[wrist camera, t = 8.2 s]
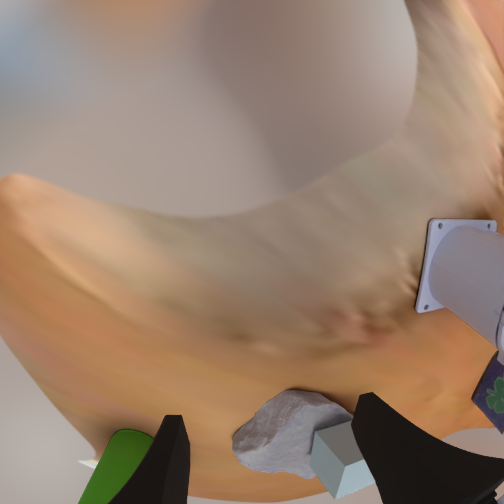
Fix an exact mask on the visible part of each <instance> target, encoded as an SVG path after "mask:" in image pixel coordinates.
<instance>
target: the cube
mask: <svg viewBox="0 0 504 504" xmlns="http://www.w3.org/2000/svg"><path fill="white" fill-rule="evenodd" d="M351 422H352V420H351V421H348V422H345V423H342V424H339V425H336V426H333V427H329V428H326V429H323V430H319V431H315V435H314V441H313V447H312V453H311V459H310V464H309V466H310V467H311V469H312V470H313V472H314V473H315V474H316V476H317V477H318V478H319V480H320V481H321V482H322V484H323V485H324V486H325V488H326V489H327V490H328V491H329V493H330V494H331V495H332V496H333V498H334V499H338V498H340V497H343V496H346V495H348V494H350V493H353V492H355V491H357V490H360V489H362V488H364V487H366V486H369V485H371V484H373V483H375V480H374V478H373V476H372V474H371V472H370V470H369V468H368V466H367V464H366V462H365V460H364V458H363V456H362V454H361V452H360V450H359V448H358V446H357V443H356V440H355V437H354V434H353V431H352V428H351Z"/></svg>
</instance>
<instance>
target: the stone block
mask: <svg viewBox="0 0 504 504" xmlns="http://www.w3.org/2000/svg"><path fill="white" fill-rule="evenodd" d="M352 419H353V415H352V414H350V413H348V412H347V411H346V410H345V409H344V408H343V407H341V406H340V405H338V404H337V403H335V402H332V401H329V400H328V399H327V398H325V397H323V396H322V395H321V394H320V393H318V392H307V391H298V390H284V391H283V392H281V393H279V394H278V395H277V396H275V397H274V398H272V399H271V400H269V401H267V402H266V403H265V404H264V405H263V406H262V407H261V408H260V410H259V411H258V412H257V413H255V416H254V417H253V419H251V420H250V421H249V422H247V423H246V424H244V425H243V426H242V427H241V428H240V429H239V430H238V431H237V432H236V433H235V434H234V436H233V445H232V449H233V452H234V453H235V455H236V456H235V457H236V458H237V459H238V460H239V462H240V463H241V464H242V465H244V466H246V467H248V468H250V469H252V470H255V471H261V472H269V473H276V472H289V473H291V474H297V475H299V476H300V477H302V478H304V479H310V478H313V477H314V476H316V474H315V473H314V472H313V470H312V469H311V467H310V466H309V464H310V459H311V453H312V447H313V441H314V435H315V431H319V430H323V429H326V428H329V427H333V426H336V425H339V424H342V423H345V422H348V421H351V420H352Z"/></svg>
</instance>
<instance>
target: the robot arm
mask: <svg viewBox="0 0 504 504" xmlns="http://www.w3.org/2000/svg"><path fill="white" fill-rule="evenodd" d="M439 223H440V225H439ZM438 225H439V227H438ZM496 229H497V223H496V221H494V220H472V219H432V220H431V221H430V223H429V229H428V238H427V246H426V253H425V259H424V266H423V272H422V277H421V283H420V288H419V293H418V298H417V302H416V307H415V309H416V311H417V312H418V313H423V312H428V311H433V310H437V309H442V308H447V309H448V310H449V311H451V312H452V313H453V314H455V315H456V316H457V317H458V318H460V319H461V320H462V321H464V322H465V323H466V324H468V325H469V326H470V327H471V328H473V329H474V330H475V331H476V332H478V333H479V334H480V335H481V336H483V337H484V338H485V339H486V340H488V341H489V342H490V343H491V344H492V345H494V346H495V347H496V348H497V349H499V354H498V357H497V360H498V361H499V362H500V363H501V364H502V365H504V235H503V234H500V233H497V232H496ZM425 305H426V306H425ZM351 428H352V431H353V434H354V437H355V440H356V443H357V446H358V448H359V450H360V452H361V454H362V456H363V458H364V460H365V462H366V464H367V466H368V468H369V470H370V472H371V474H372V476H373V478H374V480H375V482H376V485H377V487H378V490H379V493H380V496H381V499H382V502H383V504H504V495H503V496H501V497H500V498H499V499H498V500H497V501H496V500H495V498H494V497H495V496H497V493H496V492H495V489H496V488H497V487H498V486H499V485H500V484H501V483H502V482H503V481H504V459H502V458H495V457H488V456H483V455H479V454H475V453H471V452H468V451H465V450H462V449H459V448H457V447H454V446H452V445H450V444H447V443H445V442H443V441H441V440H439V439H437V438H435V437H433V436H432V435H430V434H428V433H427V432H425V431H423V430H422V429H420V428H419V427H417V426H416V425H414V424H413V423H411V422H410V421H409V420H407V419H406V418H404V417H403V416H402V415H400V414H399V413H398V412H397V411H395V410H394V409H393V408H392V407H390V406H389V405H388V404H387V403H385V402H384V401H383V400H382V399H380V398H379V397H378V396H377V395H376V394H374V393H373V392H370V393H366V394H362V395H360V396H359V399H358V403H357V406H356V409H355V413H354V416H353V419H352V422H351ZM189 474H190V442H189V439H188V435H187V432H186V429H185V425H184V421H183V418H182V415H166V416H165V417H164V419H163V421H162V424H161V426H160V428H159V430H158V432H157V434H156V436H155V438H154V440H153V442H152V444H151V446H150V447H149V449H148V451H147V453H146V454H145V456H144V458H143V459H142V461H141V462H140V464H139V465H138V467H137V468H136V470H135V471H134V473H133V474H132V476H131V477H130V478H129V480H128V481H127V482H126V483H125V485H124V486H123V487H122V488H121V489H120V491H119V492H118V493H117V494H116V495H115V496H114V497H113V498H112V499H111V500H110V501H109V502H108V503H107V504H187V495H188V484H189Z"/></svg>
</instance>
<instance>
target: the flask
mask: <svg viewBox="0 0 504 504" xmlns="http://www.w3.org/2000/svg"><path fill="white" fill-rule="evenodd" d="M498 354H499V350H498V351H497V352H496V353H495V354H494V355H493V357H492V359H491V360H490V362H489V364H488V366H487V368H486V369H485V371H484V373H483V375H482V377H481V380H480V381H479V383H478V385H477V387H476V389H475V391H474V393H473V396H472V401H473V403H475V404H476V405H477V407H478V408H479V409H480V410H481V411H482V412H483V413H484V414H485V415H486V417H487V418H488V419H489V420H490V421H491V422H492V423H493V424H494V426H495V427H496V428H497V429H498V430H499V431H500V433H501V434H504V365H502V364H501V363H500V362H499V361H498V360H497V357H498Z"/></svg>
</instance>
